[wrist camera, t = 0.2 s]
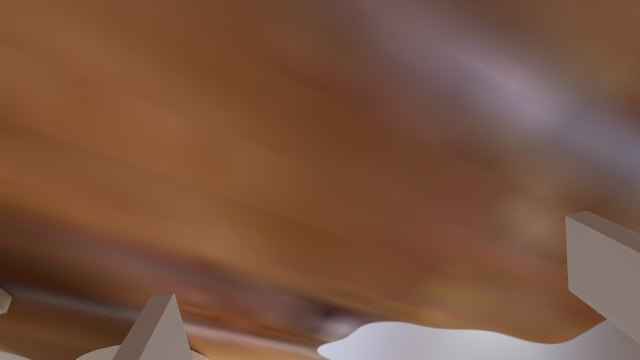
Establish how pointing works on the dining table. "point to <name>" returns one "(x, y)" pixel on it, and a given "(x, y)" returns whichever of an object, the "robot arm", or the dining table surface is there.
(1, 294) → the birch board
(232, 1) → the dining table surface
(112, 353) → the cylinder
